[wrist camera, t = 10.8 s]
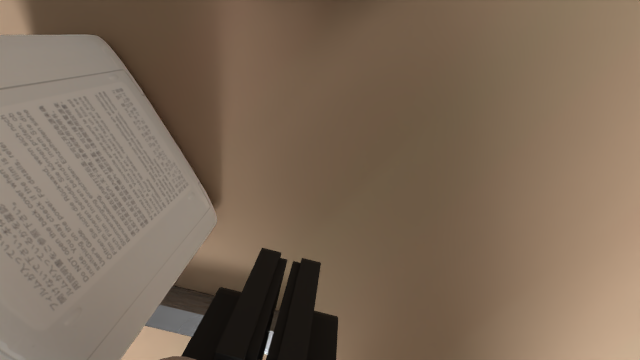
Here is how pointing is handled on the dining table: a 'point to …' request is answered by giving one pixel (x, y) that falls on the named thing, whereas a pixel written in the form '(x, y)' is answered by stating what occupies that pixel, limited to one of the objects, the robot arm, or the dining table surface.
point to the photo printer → (86, 201)
